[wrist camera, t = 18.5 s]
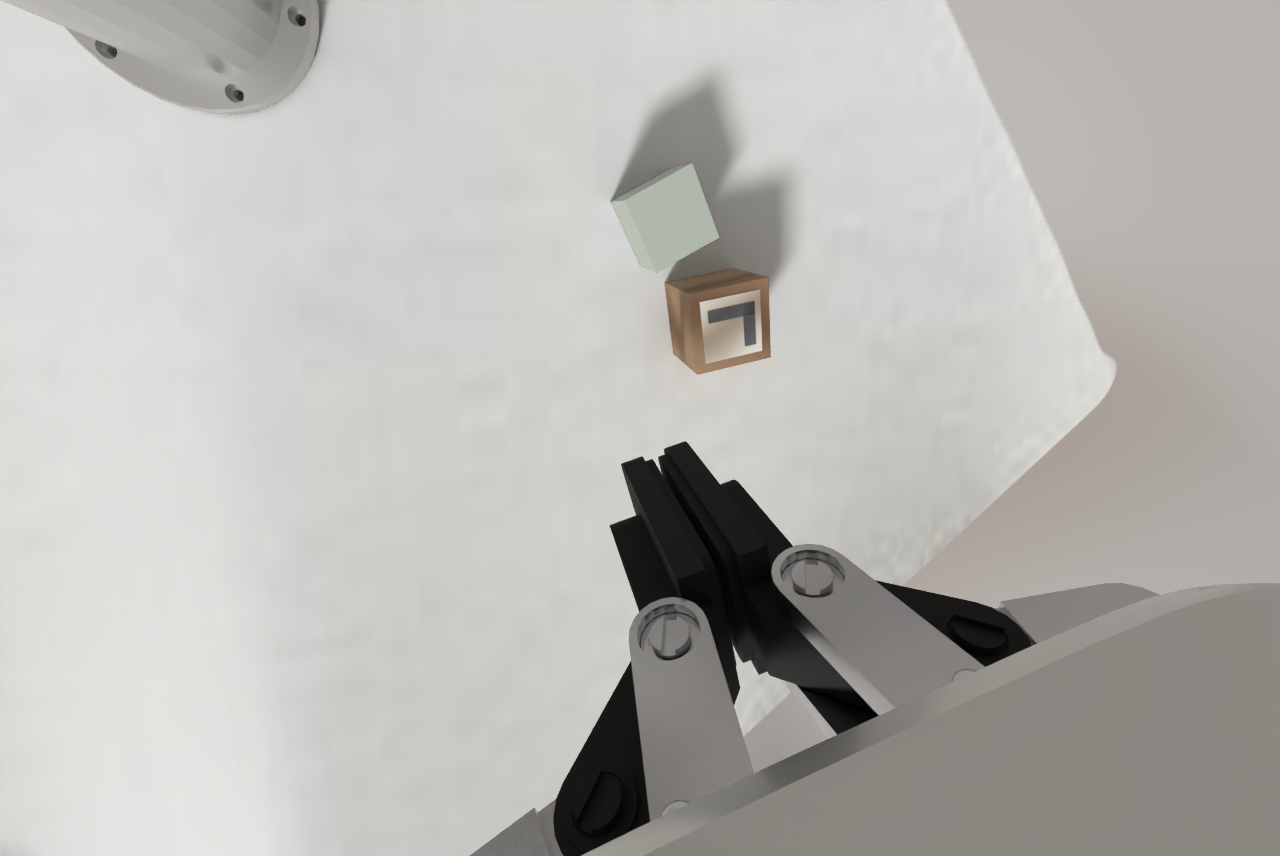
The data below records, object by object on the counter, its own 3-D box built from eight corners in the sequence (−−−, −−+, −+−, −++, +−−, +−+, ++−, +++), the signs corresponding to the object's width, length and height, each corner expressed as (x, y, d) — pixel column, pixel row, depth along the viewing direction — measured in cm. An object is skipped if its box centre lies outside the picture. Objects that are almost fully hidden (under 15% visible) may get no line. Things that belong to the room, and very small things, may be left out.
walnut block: (769, 277, 33) (733, 268, 39) (689, 294, 33) (664, 282, 38) (771, 357, 36) (737, 338, 41) (698, 375, 35) (673, 353, 41)
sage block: (610, 201, 34) (624, 200, 30) (669, 168, 35) (692, 162, 30) (639, 265, 37) (656, 272, 32) (694, 234, 37) (719, 237, 33)
